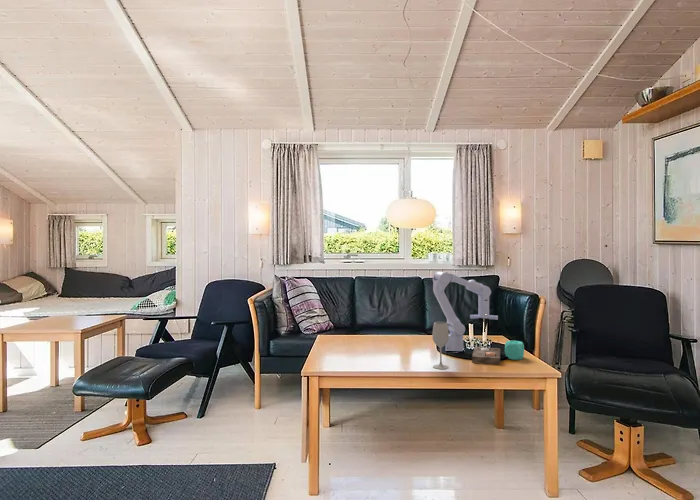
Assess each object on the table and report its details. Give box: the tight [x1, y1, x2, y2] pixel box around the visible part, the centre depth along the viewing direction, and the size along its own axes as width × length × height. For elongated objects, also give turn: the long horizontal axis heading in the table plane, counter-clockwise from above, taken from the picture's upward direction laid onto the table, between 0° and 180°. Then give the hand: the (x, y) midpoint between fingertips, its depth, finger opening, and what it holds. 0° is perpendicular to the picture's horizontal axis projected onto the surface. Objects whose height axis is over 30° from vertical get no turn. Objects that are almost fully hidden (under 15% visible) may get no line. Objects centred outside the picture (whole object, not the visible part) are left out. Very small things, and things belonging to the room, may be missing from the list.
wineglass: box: [431, 321, 450, 370], centre depth 212 cm, size 8×8×21 cm
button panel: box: [471, 346, 501, 365], centre depth 227 cm, size 13×21×3 cm, turn 161°
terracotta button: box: [486, 352, 495, 356], centre depth 222 cm, size 4×4×3 cm
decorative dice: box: [504, 340, 525, 361], centre depth 227 cm, size 8×8×8 cm
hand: (483, 332), depth 246 cm, fingers closed
